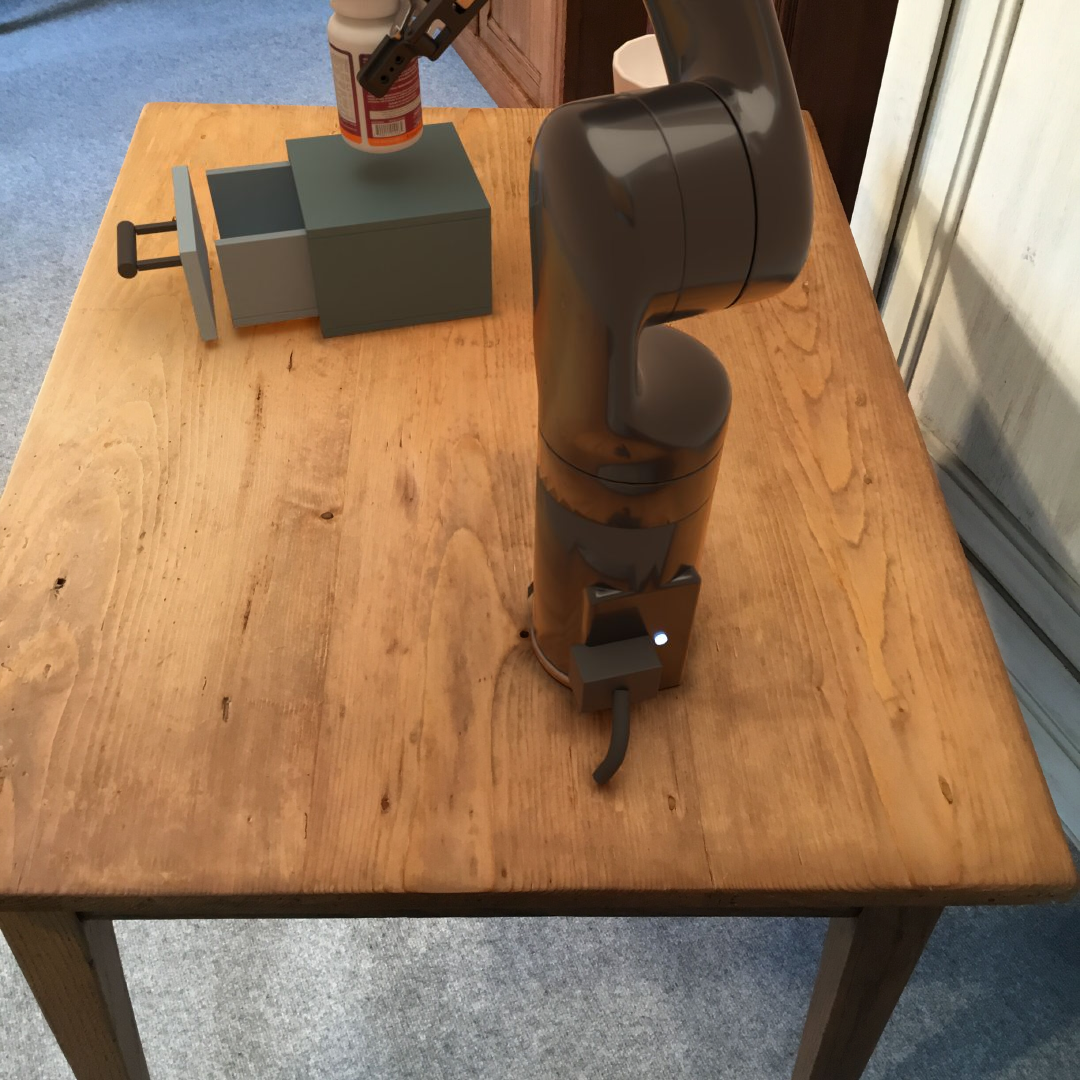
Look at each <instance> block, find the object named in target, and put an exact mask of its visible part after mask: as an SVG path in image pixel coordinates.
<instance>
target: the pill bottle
mask: <svg viewBox="0 0 1080 1080" xmlns="http://www.w3.org/2000/svg"><path fill="white" fill-rule="evenodd" d="M329 6H330V8H331V9H332V11H334V12H333V13H332V15H331V16H330V18H329V20H328V22H327V27H326V29H327V31H326V32H327V42H328V47H329V48H328V49H329V55H330V62H331V70H332V77H333V78H332V79H333V86H334V94H335V100H336V108H337V109H336V110H337V117H338V122H339V130H340V134H341V135H342V137H343V139H344V141H345V142H346V143H347V144H349V145H350V146H351V147H353V148H355V149H358V150H360V151H364V152H369V153H379V154H382V153H391V152H395V151H399V150H402V149H405V148H407V147H409V146H411V145H413V144H414V143H415V142H417V141H418V140H419V138H420V137H421V135H422V132H423V125H424V123H423V122H424V121H423V108H422V107H423V105H422V93H421V83H420V82H421V81H420V80H421V79H420V64H419V59H417V58H416V57H414V58H413V59H412V60H411V62H410V63H409V64H408V66H407V67H406V68H405V70H404V71H403V72H402V73H401V75H400V76H399V77H398V79H397V80H396V81H395V83H394V84H393V85H392V87H391V88H390V89H389V91H388V92H387V93H386V95H385V96H384V97H382V98H376V97H374V96H373V95H372V94H370V93H369V92H368V91H366V90H365V89H364V88H362V87H361V86H360V84H359V83H358V81H357V79H356V76H357V73H358V72H359V71H360V69H361V68H362V66H363V65H364V64H365V62H366V61H367V60H368V58H369V57H370V56H371V54H372V53H373V52H374V50H375V49H376V48H377V46H378V45H379V44H380V42H381V41H382V40H383V38H384V37H385V35H386V34H388V35H389V36H390V30H391V27H392V25H393V23H394V20H395V18H396V16H397V14H398V11H399V9H400V3H399V1H398V0H329ZM414 19H415V18H412V20H411V22H410V24H411V23H412V22H413V21H414ZM410 24H409V25H410ZM391 38H392V37H391Z"/></svg>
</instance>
